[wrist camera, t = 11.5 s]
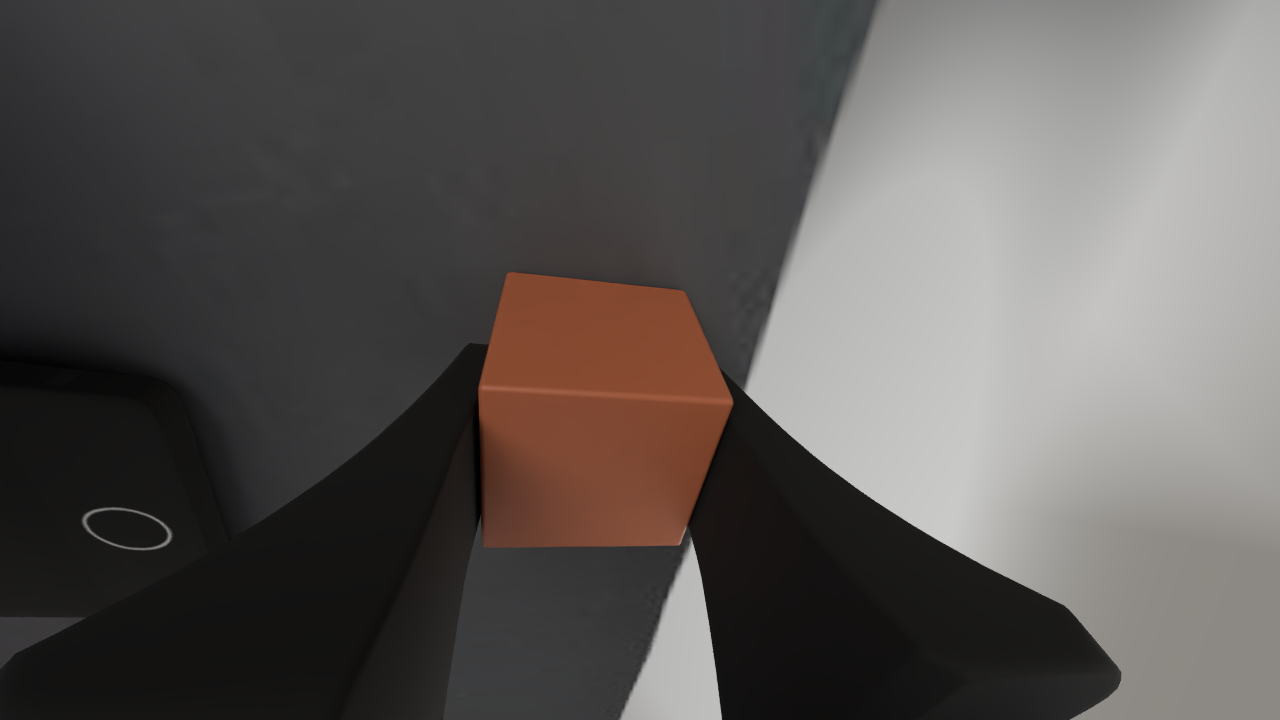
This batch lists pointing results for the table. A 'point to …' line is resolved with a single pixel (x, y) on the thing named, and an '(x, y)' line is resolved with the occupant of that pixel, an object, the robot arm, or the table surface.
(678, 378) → the block
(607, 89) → the table surface
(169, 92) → the table surface
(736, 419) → the robot arm
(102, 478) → the cell phone
